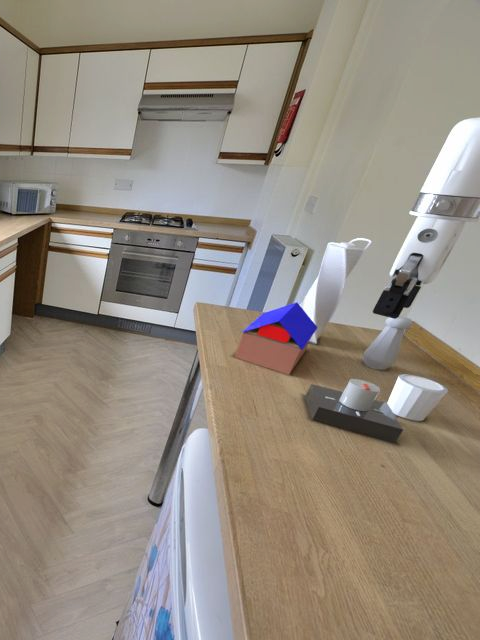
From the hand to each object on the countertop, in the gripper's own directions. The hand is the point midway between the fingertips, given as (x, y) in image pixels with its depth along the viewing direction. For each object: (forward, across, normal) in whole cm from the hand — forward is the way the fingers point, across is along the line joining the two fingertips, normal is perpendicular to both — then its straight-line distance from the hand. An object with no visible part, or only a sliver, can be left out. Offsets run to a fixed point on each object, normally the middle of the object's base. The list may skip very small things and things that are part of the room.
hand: (390, 310), depth 71 cm
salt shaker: (+22, +35, 0) cm, 41 cm away
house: (+22, +19, +18) cm, 34 cm away
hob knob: (+19, 0, -2) cm, 19 cm away
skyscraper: (+22, +39, +16) cm, 48 cm away
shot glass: (+22, +13, -8) cm, 27 cm away
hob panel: (+22, 0, -2) cm, 22 cm away
